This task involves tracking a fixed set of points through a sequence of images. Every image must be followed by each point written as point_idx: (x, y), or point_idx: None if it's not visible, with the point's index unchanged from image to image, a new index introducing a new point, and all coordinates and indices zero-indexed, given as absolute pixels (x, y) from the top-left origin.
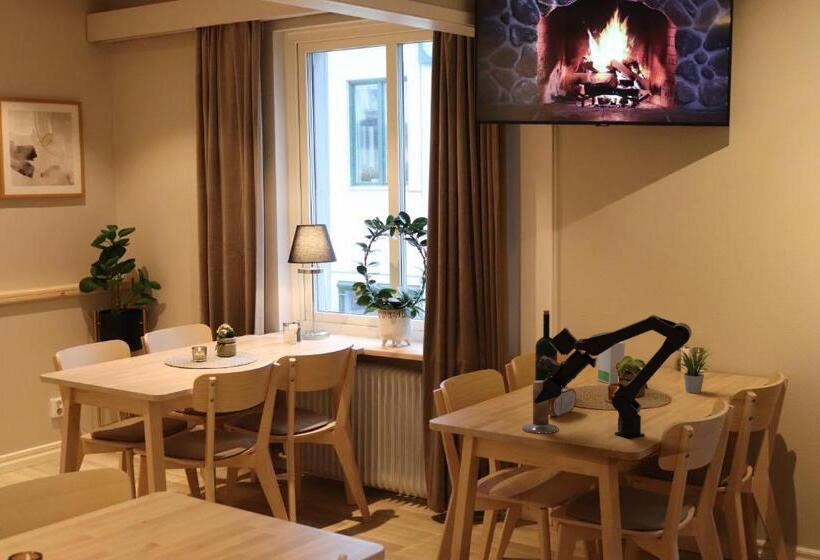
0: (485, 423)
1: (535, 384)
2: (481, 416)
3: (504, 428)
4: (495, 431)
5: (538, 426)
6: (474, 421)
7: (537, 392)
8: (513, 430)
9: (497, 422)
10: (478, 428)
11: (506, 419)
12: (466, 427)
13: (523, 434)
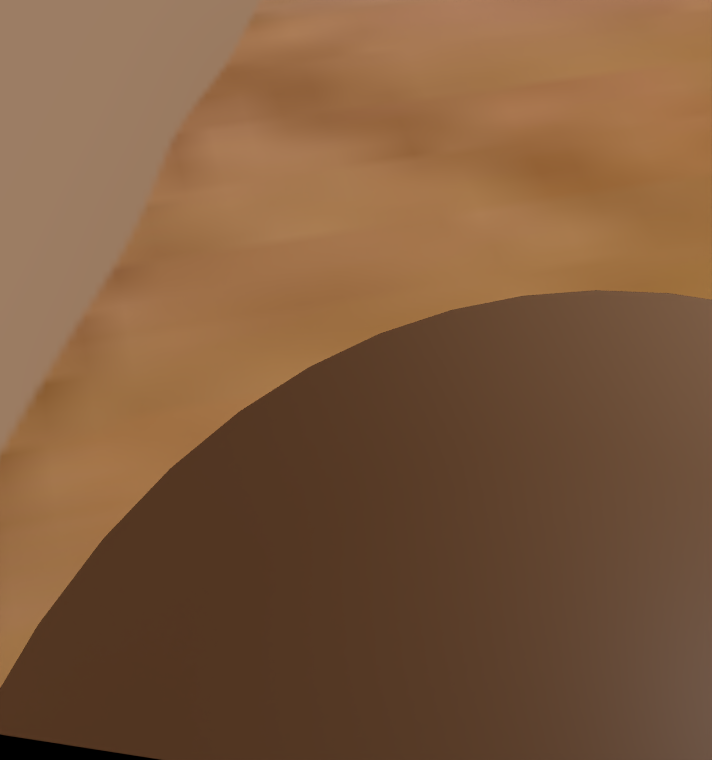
0: (435, 136)
1: (90, 601)
2: (664, 76)
3: (292, 316)
4: (146, 258)
5: None
6: (472, 56)
7: (138, 757)
8: (225, 417)
9: (512, 218)
10: (234, 114)
11: (664, 272)
12: (247, 35)
13: (48, 566)
